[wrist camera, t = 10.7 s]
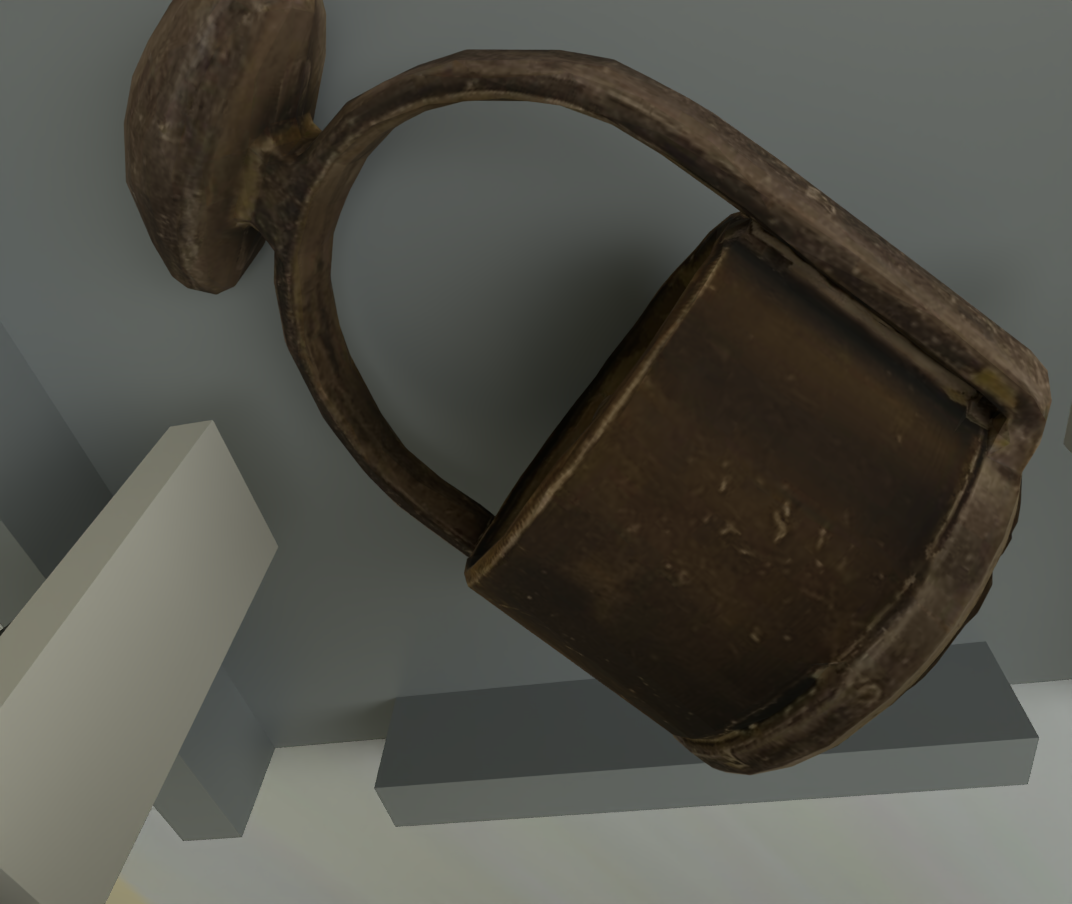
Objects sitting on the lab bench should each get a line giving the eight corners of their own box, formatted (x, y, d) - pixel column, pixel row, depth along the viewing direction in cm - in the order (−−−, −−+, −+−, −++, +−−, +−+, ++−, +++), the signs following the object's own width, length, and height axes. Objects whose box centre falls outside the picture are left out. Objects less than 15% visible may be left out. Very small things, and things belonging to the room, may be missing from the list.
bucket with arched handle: (542, 873, 14) (1257, 827, 8) (-286, 434, 8) (359, -950, 2) (589, 546, 19) (1060, 380, 13) (106, 115, 12) (616, -553, 7)
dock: (1232, 650, 18) (1331, 764, 15) (227, 739, 22) (183, 841, 20) (1884, -900, 7) (2583, -1338, 4) (-388, -147, 11) (-661, -163, 8)
